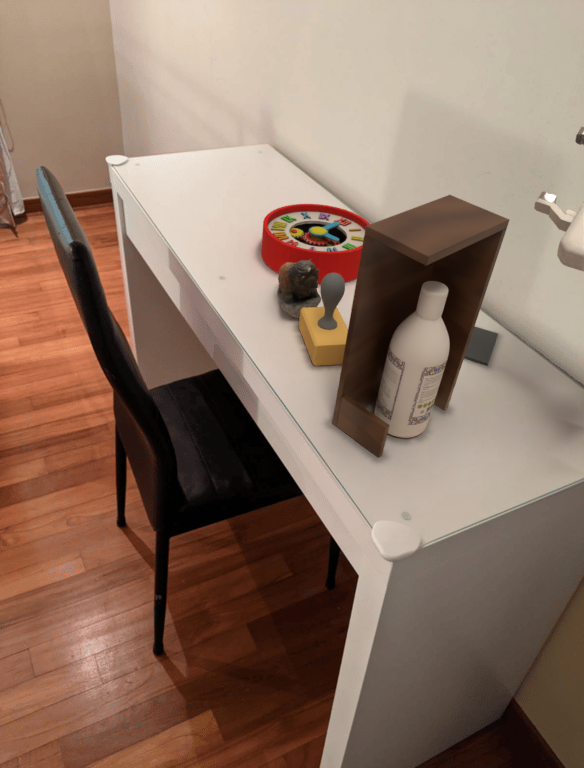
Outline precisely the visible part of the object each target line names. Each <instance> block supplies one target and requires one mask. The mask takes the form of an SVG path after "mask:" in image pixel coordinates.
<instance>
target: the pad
mask: <svg viewBox="0 0 584 768" xmlns="http://www.w3.org/2000/svg"><path fill="white" fill-rule="evenodd" d="M498 335H499V333H498V332H494V331H491V330H489V329H488V330H487V329H484V328H482V327H477V326H476V325H475V326H474V329H473V332H472V335H471V338H470V342H469V345H468V348H467V351H466V354H465V357H464V359H466V360H469V361H473V362H476V363H479V364H482V365H485V366H488V364H489V361H490V358H491V356H492V353H493V350H494V347H495V345H496V341H497V338H498Z"/></svg>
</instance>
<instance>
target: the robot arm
mask: <svg viewBox="0 0 584 768" xmlns="http://www.w3.org/2000/svg"><path fill="white" fill-rule="evenodd" d="M574 142H575V143H576V144H577V145H580V146H581V145H583V146H584V123H583V124H582V125H581V126H580V127H579V130H578V131H577V133H576V134H575V141H574ZM557 198H558V195H556V194H553V193H548V192H547V191H541V192H540V194H539V196H538V197H537V199H536V200H535V202H534V206H533V207H534V210H535V211H536V212H539V213H542V214H545V215H546V216H548V217H549V219H550V220H551V221H552V222H553V224H554V225H555V226H556V228H557V229H558V230H560V231H562V232H564V234H563V236H562V237H561V239H560V240H559V244H558V248H557V253H556V256H557V258H558V260H559V262H560V264H562V265H563V266H565V267H567V268H571V269H574V270H577V271H581V272H584V201H583V202H582V204H581V206H580V207H579V209H578V211H575V210H572V209H566V211H563V210H562V209H561V208H560V207H559V205H557V204H556V203H557Z"/></svg>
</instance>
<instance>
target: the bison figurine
mask: <svg viewBox="0 0 584 768" xmlns="http://www.w3.org/2000/svg"><path fill="white" fill-rule="evenodd" d="M311 261H312V259H310V260H309V261H307V260H301V261H299V262H297V263H290V262H287V263H285V264H283V265H282V266H281V268H280V271H279V274H278V277H277V280H278V288H277V297H278V299H279V303H280V306H281V308H282V309H283V311H284V312H286V313H287V314H288V315H290V316H291V317H292V318H300V311H301V309H302V308H306V307H319V304H320V303H321V301H322V298H321V294H319V292H318V288H319V284H318V282H317V280H318V279H319V276H318V273H319V270H318V269H316V268H315V265H314V264H313V263H312V262H311Z"/></svg>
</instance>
